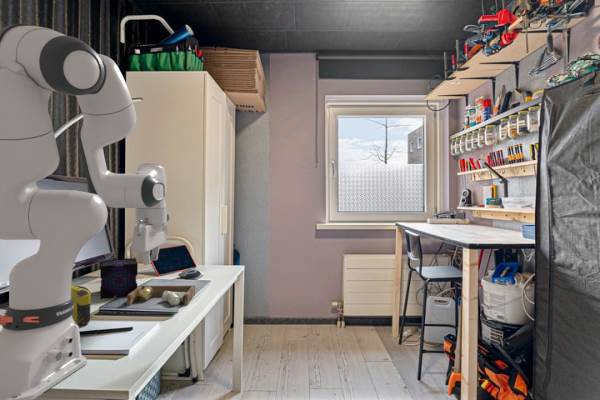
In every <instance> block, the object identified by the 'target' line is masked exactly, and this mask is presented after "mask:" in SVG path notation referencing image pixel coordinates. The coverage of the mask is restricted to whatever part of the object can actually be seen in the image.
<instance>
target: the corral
mask: <svg viewBox="0 0 600 400" xmlns="http://www.w3.org/2000/svg"><path fill="white" fill-rule="evenodd" d="M145 287H151V288H152V289H153V290H154V293H153V295H152V296H151V297H160V296H161V297H162V295H163V292H164V291H170V292H186V294H185V303H183V304H184V306H188V305H189V304H190V302H191V301H192V300H193V298H194V297H195V296H196V285H139V286H137V289H135V290H134V291H132V292H131V293H130V294H128V295H127V297H126V300H127V301H126V306H128V307H129V306H132V305H133V304H134V303H135V302H137V301H139V300H138V298H137V294H138V293H139V292H140V291H141V290H142V289H144V288H145Z"/></svg>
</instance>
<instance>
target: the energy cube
mask: <svg viewBox="0 0 600 400" xmlns="http://www.w3.org/2000/svg"><path fill="white" fill-rule="evenodd" d="M138 269H139V267H138V261H137V258H136V257H128V258H123V259H121V260H120V259H119V260H118V259H117V260H116V259H113V258H112V259H102V260H101V261H100V277H99V278H100V292H99V296H100V300H107V299H114V298H116V297H120V296H121V297H125V298H127V295H128V294H130V293H131V292H132V291H134V290H135V289H137V288H138V283H137V276H138V273H139V272H138Z"/></svg>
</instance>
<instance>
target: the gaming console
mask: <svg viewBox="0 0 600 400" xmlns="http://www.w3.org/2000/svg"><path fill="white" fill-rule="evenodd" d="M71 297H73V301H74V313H73V315H72V317H73V320H74V321H75V323H76V324H77V325H78V326H85V325H88V324H89V323H90V321H91V298H92V294H91V291H89V290H88V289H85V288H82V287H79V286H76V285H73V284H72V287H71Z"/></svg>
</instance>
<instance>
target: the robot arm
mask: <svg viewBox="0 0 600 400" xmlns="http://www.w3.org/2000/svg"><path fill="white" fill-rule="evenodd" d="M52 92H58V93H59V94H62V95H65V96H75V97H76V100H77V102H78V105H79V107H80V108H79V109H80V111H81V113H82V118H83V120H82V121H83V122H82V123H81V124H80V125H79V126H78V128H77V132H76V133H77V142H78V143H77V144H78V149H79V153H80V157H81V161H82V165H83V169H84V172H85V173H84V174H85V177H86V178H85V179H86V184H87V191H82V190H76V189H74V190H72V189H42V188H39V187H38V185H37V182H38V181H41V180H43V179H46V178H47V177H48V176H50V175H51V174H53V173H55V171H57V169H58V167H59V164H60V159H61V158H60V154H59V150H58V145H57V141H56V140H57V139H56V137H55V132H54V127H53V123H52V120H51V116H50V113H49V103H50V102H49V101H50V98H51V97H50V96H51V94H53V93H52ZM136 124H137V113H136V108H135V105H134V102H133V99H132V96H131V92H130V90H129V88H128V85H127V82H126V80H125V78H124V76H123V74H122V72H121V70H120V68H119V66H118V64H116V62H115V61H114V60H113V59H112V58H110V57H109V56H107V55H104V54H101V53H97V52H96V51H95V50H94V49H93V48H92V47H91V46H90V45H89V44H87V43H86V42H84V41H82V40H81V39H79V38H77V37H75V36H71V35H66V34H64V33H62V32H59V31H57V30H54V29H52V28H48V27H43V26H37V25H31V24H26V23H15V24H10V25H7V26H4V27H3V28H1V29H0V240H4V241H13V240H15V241H17V240H18V241H19V240H20V241H23V240H24V241H25V240H27V241H28V240H31V241H35V240H39V242H40V243H39V247H38V251H37V252H36V253H34V254H33V255H30V256H28V257H26V258H24V259H22V260H20V261H19V262H17V263H16V264H15V265H13V267H12V268H11V271H10V272H9V276H8V277H9V278H8V282H9V283H8V287H9V288H8V292H9V295H8V296H9V297H8V298H9V299H8V304H9V305H7V307H6V310H5V313H4V314H3V315H2V314H0V326H1V327H2V328H1V330H0V400H35V399H36V398H38V397H39V396H40V395H41V394H43V393H45V392H47V391H48V390H49V389H51V388H52V387H54V386H56V385H57V384H59V383H60V382H61V381H63V380H64V379H66V378H68V377H69V376H70V375H72V374H74V372H76V371H77V370H79V369H80V368H82V367H84V366H85V365H87V363H88V361H87V357H86V356H84V355H83V354H82V348H81V347H82V346H81V336H80V335H81V334H80V328H79V324H78V323H76V322H75V321H74V320H73V317H72V315H73V313H74V301H73V297H71V287H72V285H73V284H72V282H73V281H72V280H73V271H74V266H75V265H74V264H75V261H76V258H77V256H78V255H79V252H80V251H81V250H82V248H83V247H84V246H85V245H86V244H87V243H88V242H89V241H90V240H91V239H92V238H94V237H95V236H97V235H98V234H99V233H101V231H102V230H103V229H104V227H105V226H106V224H107V221H108V217H109V216H108V214H109V213H108V209H134V212H135V215H134V216H135V218H134V221H135V222H134V223H135V224H137V225H135V227H134V228H133V234H132V244H131V245H132V247H131V248H132V252H133V253H141V254H140V255H141V258H142V264H143V266H149V265H150V264H152V262H153V261H155V262H156V261H157V260H158V259H159V253H160V246H162V245H164V244H165V243H166V242H167V240H168V229H169V227H168V226H169V223H168V222H169V221H170V215H169V213H168V212H167V207H168V206H167V204H166V197H167V194H168V193H167V190H168V188H167V187H168V186H167V177H166V169H165V168H164V167H163V166H161V165H159V164H154V163H141V164H139V165H138V166H137V170H136V171H137V172H134V173H115V172H112V171H110V170H108V169H107V168H108V167H107V164H106V159H105V154H104V147H106V146H108V145H111V144H115V143H118V142H119V141H122V140H123V139H125V138H126V137H127V136H128V135H130V133H132V131H133V130H134V129H135V126H136Z"/></svg>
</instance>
